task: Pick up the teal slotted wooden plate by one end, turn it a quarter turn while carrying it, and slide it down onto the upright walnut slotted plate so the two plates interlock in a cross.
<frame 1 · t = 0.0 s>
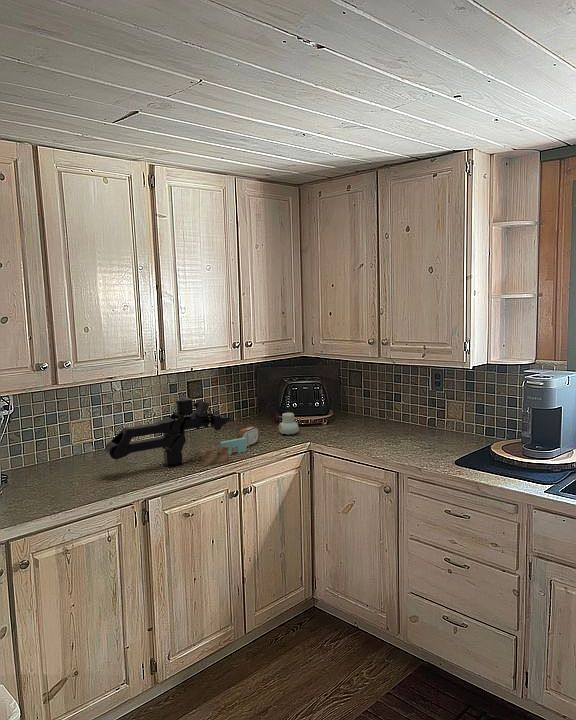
hand: (224, 416, 263), 17 cm above the counter, tool horizontal, fingers open, 9 cm apart
tin: (248, 446, 277), on the counter
teal plate: (233, 453, 265), on the counter
air freshener: (288, 434, 298), on the counter
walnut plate: (215, 462, 252), on the counter
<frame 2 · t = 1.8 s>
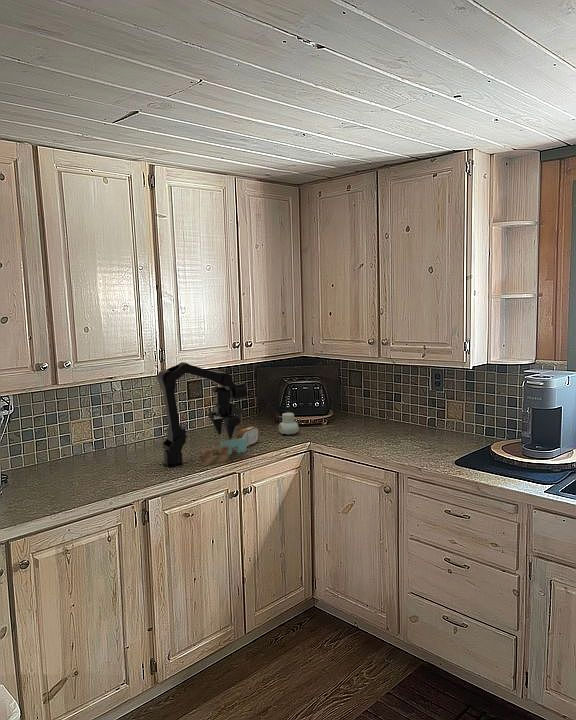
hand: (224, 436, 261), 8 cm above the counter, tool pointing down, fingers open, 9 cm apart
nothing on the counter moved.
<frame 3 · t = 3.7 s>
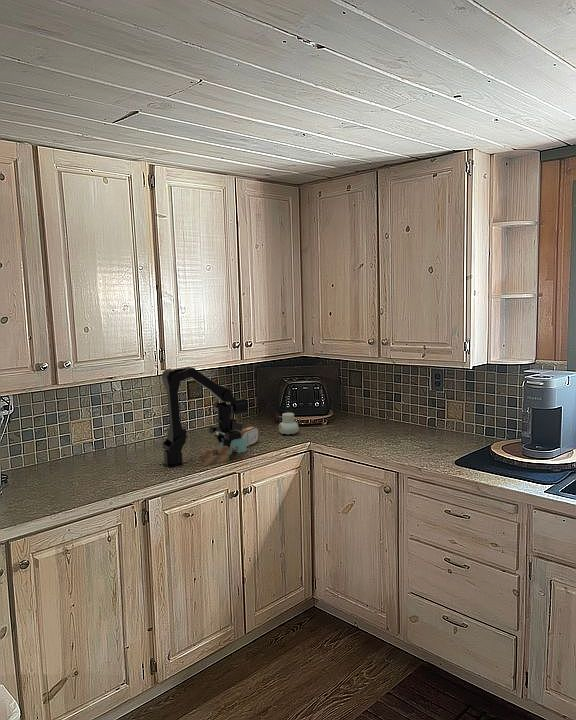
hand: (225, 451, 262), 2 cm above the counter, tool pointing down, fingers closed on teal plate, 2 cm apart
teal plate: (233, 453, 265), on the counter, touching gripper
everything else where it was.
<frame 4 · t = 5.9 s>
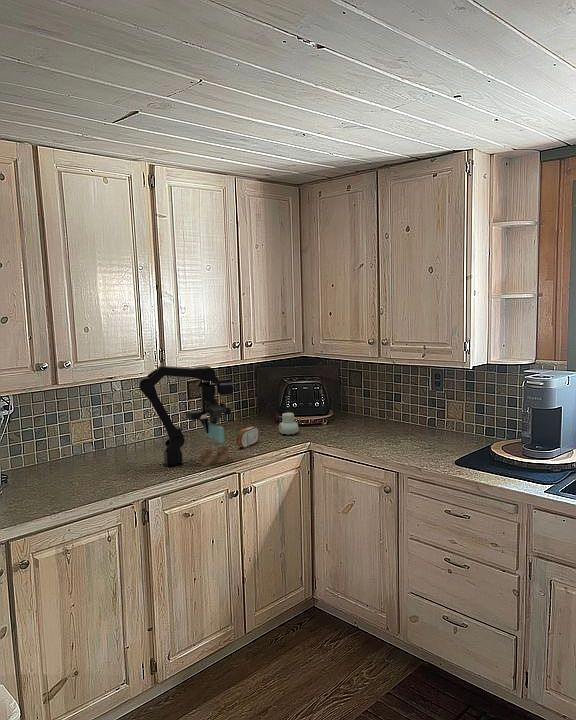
hand: (209, 432, 253), 12 cm above the counter, tool pointing down, fingers closed on teal plate
teal plate: (214, 438, 250), point 10 cm above the counter, touching gripper
everything else where it was.
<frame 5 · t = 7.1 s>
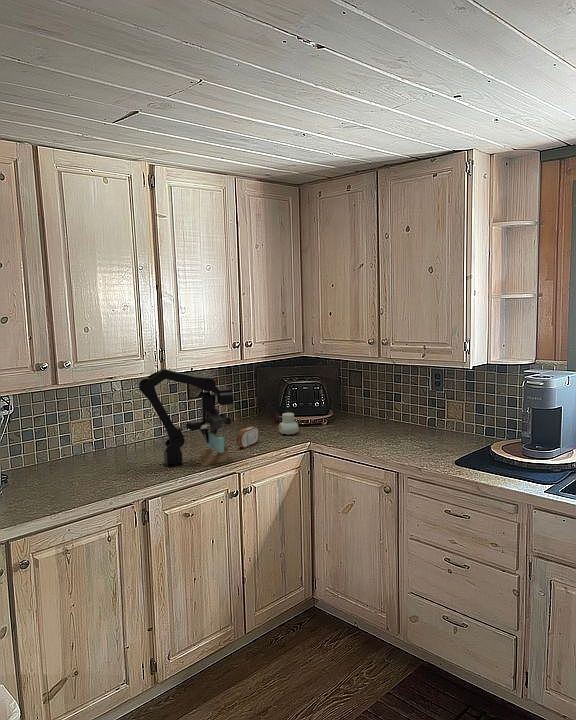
hand: (209, 442, 254), 8 cm above the counter, tool pointing down, fingers closed on teal plate
teal plate: (214, 448, 251), point 6 cm above the counter, touching gripper
everything else where it was.
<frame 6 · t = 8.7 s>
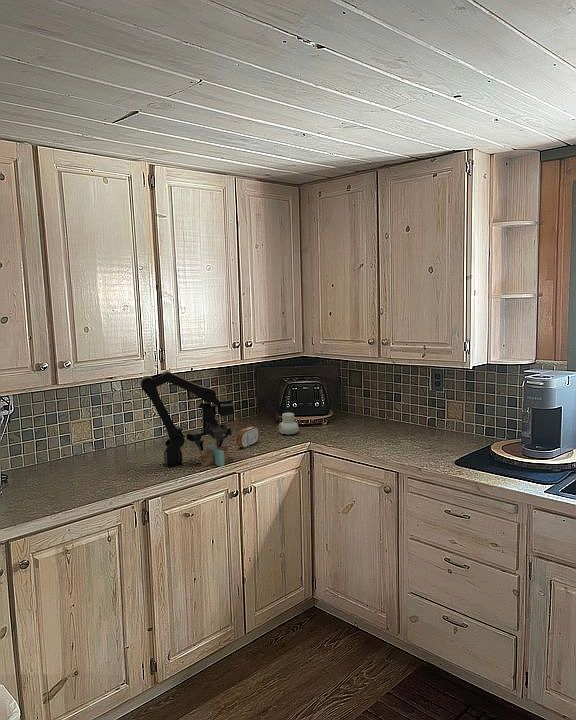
hand: (210, 453, 254), 3 cm above the counter, tool pointing down, fingers open, 7 cm apart
teal plate: (215, 462, 252), on the counter
everything else where it was.
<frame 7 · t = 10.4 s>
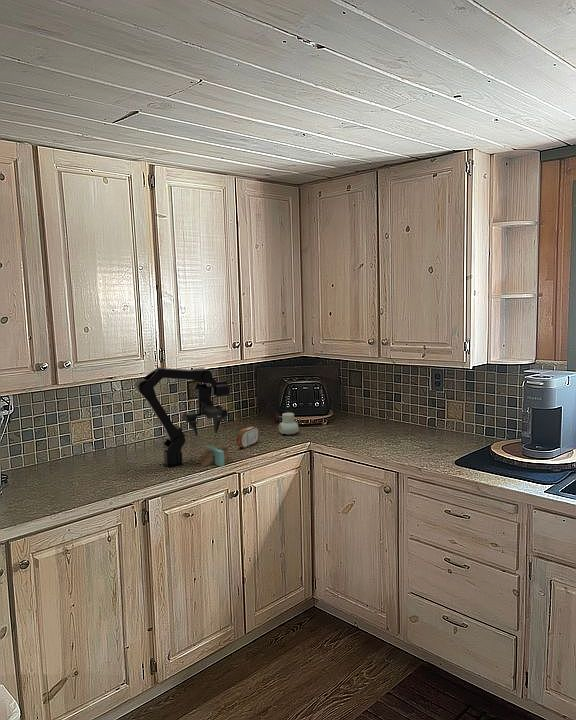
hand: (206, 434, 255), 11 cm above the counter, tool pointing down, fingers open, 9 cm apart
nothing on the counter moved.
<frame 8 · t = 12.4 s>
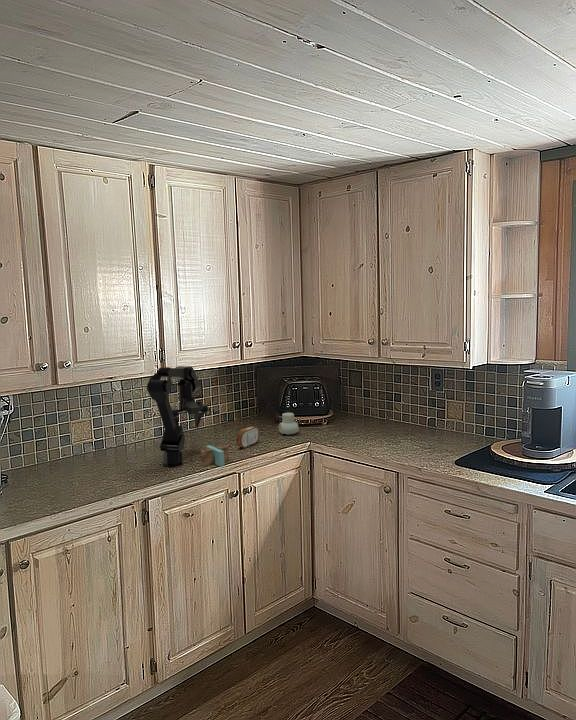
hand: (187, 429, 264), 11 cm above the counter, tool pointing down, fingers open, 9 cm apart
nothing on the counter moved.
at the end: teal plate 0.1 cm off-centre on the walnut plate, point 0.0 cm above the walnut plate's base; teal plate tilted 0°; the gripper is holding nothing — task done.
